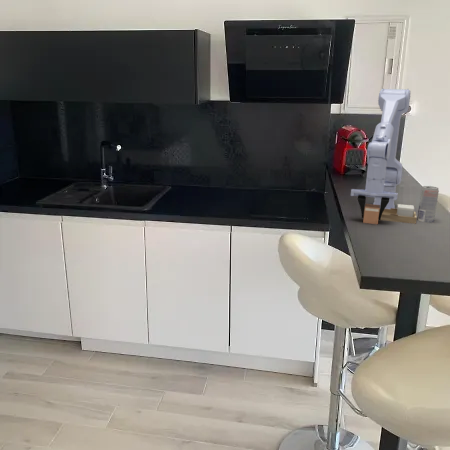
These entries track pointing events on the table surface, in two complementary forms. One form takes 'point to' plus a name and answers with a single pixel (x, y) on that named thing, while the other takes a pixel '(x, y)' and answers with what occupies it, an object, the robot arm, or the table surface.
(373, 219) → the brown cardboard box
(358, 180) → the table surface
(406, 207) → the white foam cube
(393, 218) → the light wooden tray
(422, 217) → the energy drink
